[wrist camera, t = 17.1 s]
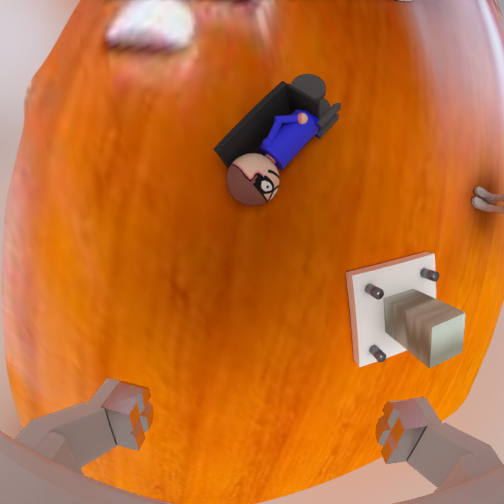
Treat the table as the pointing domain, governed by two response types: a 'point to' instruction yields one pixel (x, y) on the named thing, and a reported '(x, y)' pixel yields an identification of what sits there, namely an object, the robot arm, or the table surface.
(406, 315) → the sage block
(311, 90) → the character figurine
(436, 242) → the table surface
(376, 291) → the display base
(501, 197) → the figurine
